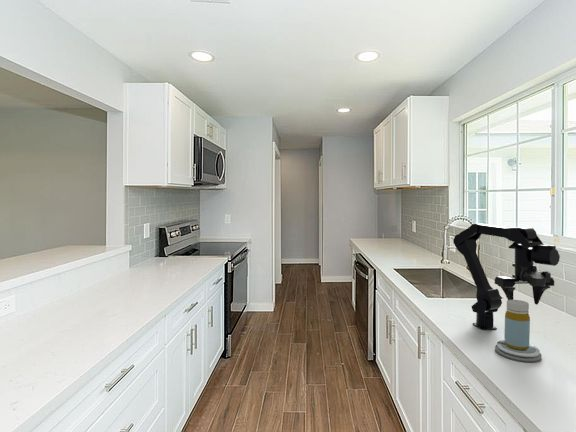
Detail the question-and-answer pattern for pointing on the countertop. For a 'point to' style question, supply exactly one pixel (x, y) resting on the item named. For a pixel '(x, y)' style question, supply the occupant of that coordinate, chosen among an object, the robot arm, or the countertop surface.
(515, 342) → the bottle
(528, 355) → the platter
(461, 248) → the robot arm
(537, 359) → the turntable base
